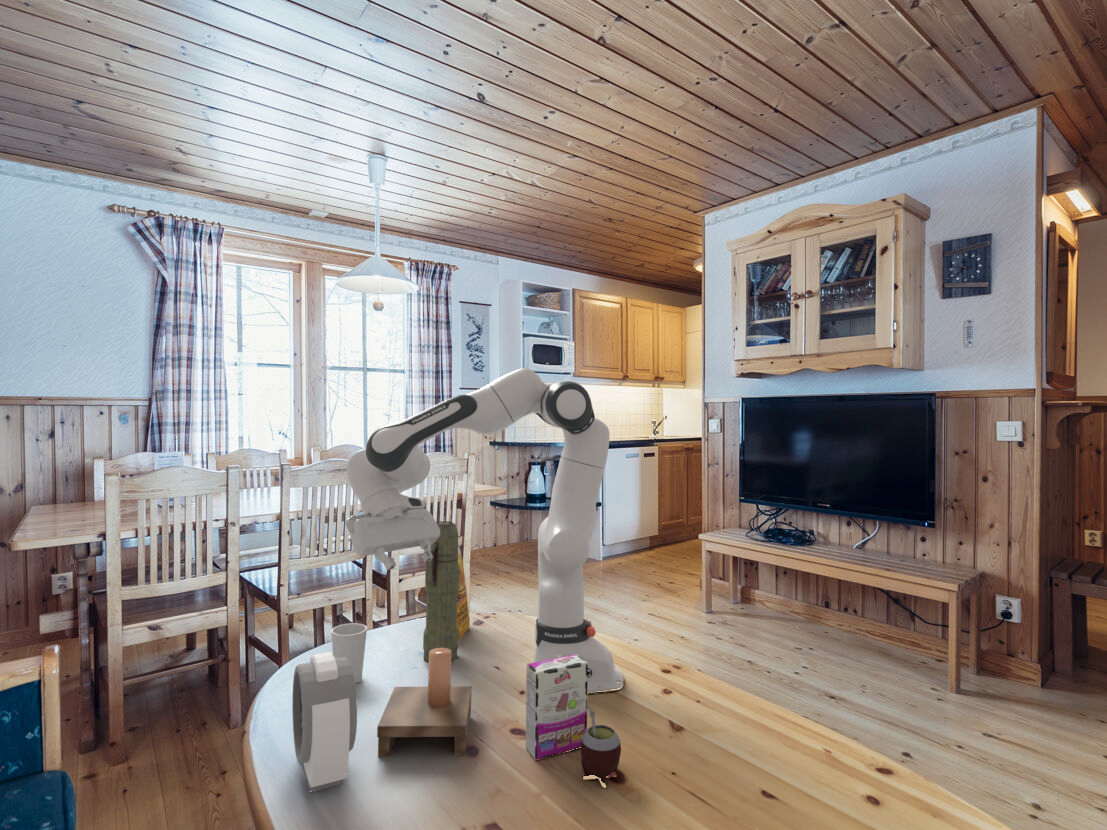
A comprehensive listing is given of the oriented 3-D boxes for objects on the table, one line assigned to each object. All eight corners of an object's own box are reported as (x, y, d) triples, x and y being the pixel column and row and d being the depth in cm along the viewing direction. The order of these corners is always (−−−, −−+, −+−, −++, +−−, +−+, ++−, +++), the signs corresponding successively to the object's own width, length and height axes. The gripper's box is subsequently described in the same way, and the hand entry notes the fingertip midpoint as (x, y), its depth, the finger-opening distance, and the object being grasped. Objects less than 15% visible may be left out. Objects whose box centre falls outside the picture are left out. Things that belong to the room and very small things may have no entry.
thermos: (413, 663, 152) (416, 525, 152) (436, 647, 163) (439, 518, 163) (444, 669, 149) (448, 528, 149) (465, 651, 160) (469, 520, 160)
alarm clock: (290, 752, 111) (292, 643, 111) (338, 740, 115) (340, 635, 115) (302, 808, 96) (305, 681, 96) (357, 793, 100) (360, 671, 100)
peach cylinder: (454, 699, 121) (455, 649, 121) (442, 709, 117) (443, 657, 117) (435, 695, 122) (436, 646, 122) (423, 704, 118) (424, 654, 118)
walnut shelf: (470, 714, 127) (471, 686, 127) (464, 758, 111) (465, 725, 111) (394, 715, 126) (394, 686, 126) (376, 759, 110) (377, 726, 110)
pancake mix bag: (432, 645, 164) (434, 543, 164) (453, 621, 183) (455, 530, 183) (456, 647, 163) (458, 544, 163) (474, 623, 182) (476, 531, 182)
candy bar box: (574, 735, 120) (576, 652, 120) (587, 747, 115) (589, 662, 115) (523, 748, 114) (525, 662, 115) (534, 762, 110) (537, 672, 110)
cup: (359, 688, 138) (360, 635, 138) (324, 687, 138) (325, 634, 138) (370, 673, 146) (371, 623, 146) (337, 672, 146) (339, 622, 146)
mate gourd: (613, 764, 110) (615, 682, 110) (626, 791, 102) (628, 703, 102) (574, 767, 109) (576, 684, 109) (583, 794, 101) (585, 705, 101)
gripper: (348, 507, 125) (373, 563, 118) (429, 499, 140) (454, 548, 133) (337, 526, 127) (360, 581, 121) (416, 515, 143) (441, 564, 136)
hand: (410, 563), depth 127 cm, fingers open, 8 cm apart
